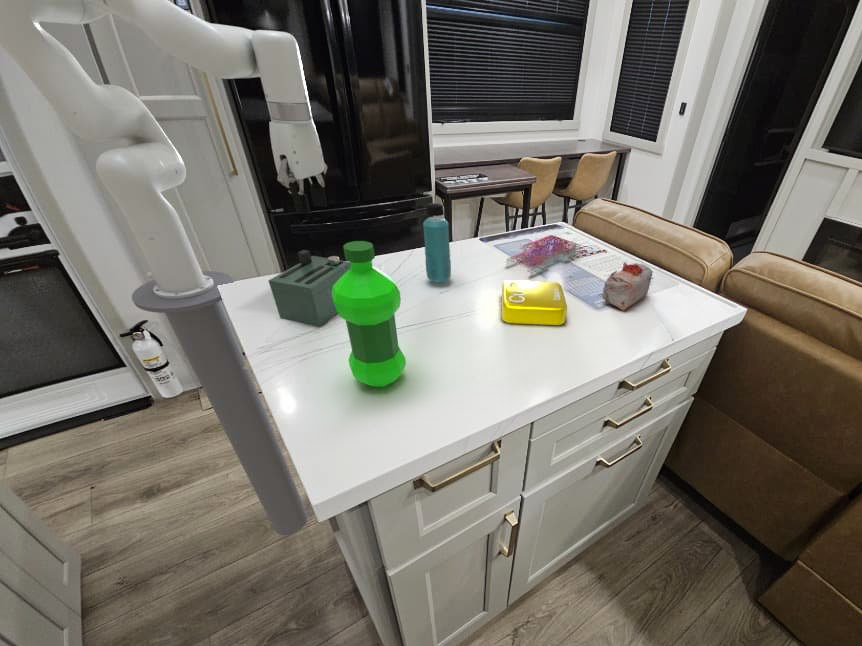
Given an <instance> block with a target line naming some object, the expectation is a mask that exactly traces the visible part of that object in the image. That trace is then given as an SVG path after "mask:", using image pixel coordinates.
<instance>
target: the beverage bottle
mask: <svg viewBox="0 0 862 646" xmlns="http://www.w3.org/2000/svg"><path fill="white" fill-rule="evenodd" d="M425 211H426V215H427V216H430V217H426V219H425V220H424V221H423V223H422V226H423V238H424V239H423V240H424V257H425V272H426V277H427V280H429V281H431V282H434V283H443V282H447V281H449V280H450V279H451V276H452V265H451V262H452V261H451V249H450V248H451V246H450V232H449V230H450V229H449V225H450V224H449V222H448V221H447V220H446V219H445V218H444V217H441V216H443V215H444V214H445V213H444V212H445V211H444V207H443V204H441V203H437V202H430V203H427V204H426V209H425Z"/></svg>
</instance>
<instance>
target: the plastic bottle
mask: <svg viewBox="0 0 862 646" xmlns="http://www.w3.org/2000/svg"><path fill="white" fill-rule="evenodd" d="M342 248H343V252H344V253H343V254H344V258H345V260H346V262H350V265H351V268H350V269H349V270H348V271H347V272H346V273H345V274H344V275H343V276H342V277H341V278H340V279H339V280H338V281H337V282H336V283H335V284H334V285H333V288H332V293H331V294H332V298H333V302H334V304H335V307H336V309H337V311H338V313H337V315H339V317H340V318H341V319H343V320H345V323H346V329H347V333H348V338H349V342H350V347H351V352H350V354H349V358H348V366H349V369H350V370H351V373H352V376H353V377H354V379H356V381H358V382H360V383H362V384H365V385H368V386H371V387H373V388H385V387H387V386H389V385H391V384H392V383H393V382H395V381H397V380H398V379H399V378H400V377H401V375H402V373H403V372H404V370H405V368H406V365H407V360H406V356H405V355H404V353H403V351H402V349H401V348H400V345H399V341H398V332H397V324H396V315H395V313H396V312H397V311H398V310H399V308H400V307H401V300H402V298H401V297H402V296H401V291H400V289H399V288H398V286H397V284H396V282H395V281H394V279H393V278H392V277H391V276H390V275H388V274H387V273H385V272H384V271H382V270H380V269H379V268H377V267H376V266H374V265H373V260H374V259H376V256H375V249H374V245H373V243H372V242H369V241H365V240H354V241H350V242H346V243H345V244H343V246H342Z"/></svg>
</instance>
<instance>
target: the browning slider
mask: <svg viewBox="0 0 862 646" xmlns="http://www.w3.org/2000/svg"><path fill="white" fill-rule="evenodd" d="M297 257H298V259H299V263H300V264H306V265H307V264H308V263H310V262H312V260H311V257H312V255H311V252H310V250H307V249H302V250H301V251H298V252H297Z"/></svg>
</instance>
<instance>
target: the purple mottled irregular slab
mask: <svg viewBox="0 0 862 646" xmlns="http://www.w3.org/2000/svg"><path fill="white" fill-rule="evenodd" d="M582 246H583V245H582V244H580V243H576V242H573V241H570V240H569V239H568V240H567V239H564V238H561V237H559V236H557V235H552V234H549V235H547V236H544V237H542V238H539V239H536V240H534V241H531V242H528V243H526V244H523V245H520V246H518V247H519V249H520V250H524V251H523V252H520V253H518V254H515V255H513V256H511V257H508V258H506V265H505V268H506V269H508V268H510V267H512V266H515V265H519V266H521V267H525V268H526V269H527V270H526V271H527V272H528V273H530V278H533V277H535V276H537V275H538V272H539V273H544V272H545V271H547V270H548V267H549V266H551V265H553V264H556V263H558V262H564V263H567V262H569V261H572V260H574V256H576V255H578V254H581V252H580V251H577V250H581V249H582ZM512 263H513V264H512Z"/></svg>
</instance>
